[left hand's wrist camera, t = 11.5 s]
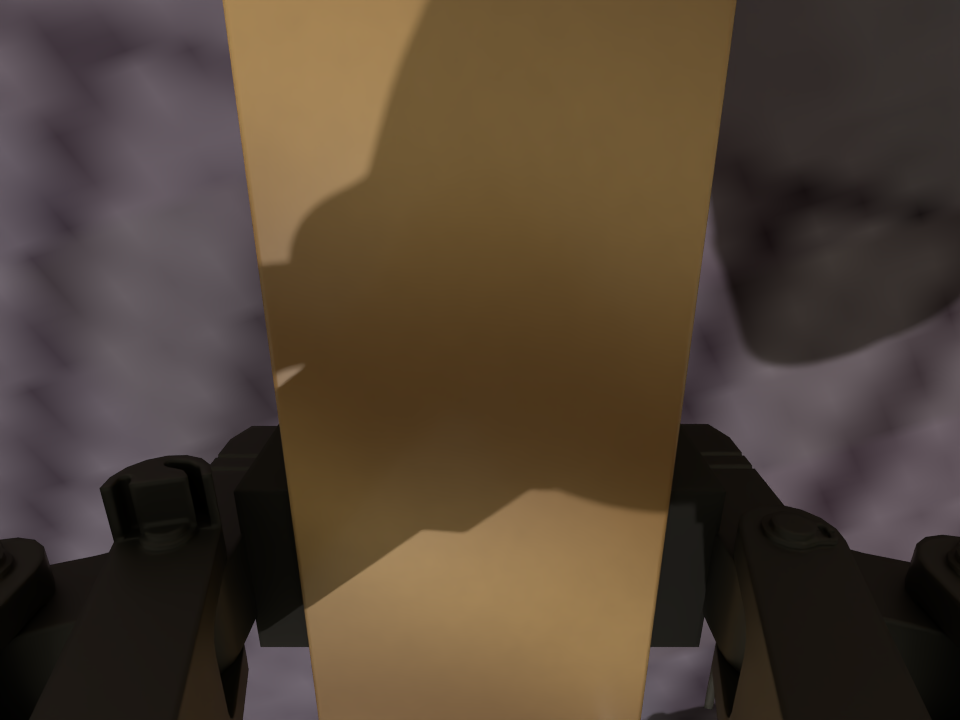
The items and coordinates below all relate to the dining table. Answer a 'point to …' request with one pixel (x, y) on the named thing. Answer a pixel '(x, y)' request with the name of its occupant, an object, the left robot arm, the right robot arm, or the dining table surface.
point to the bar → (479, 332)
